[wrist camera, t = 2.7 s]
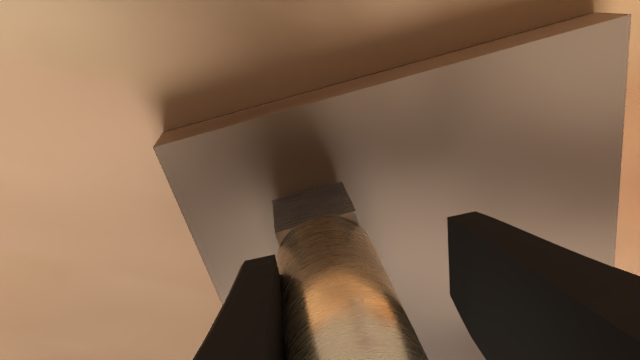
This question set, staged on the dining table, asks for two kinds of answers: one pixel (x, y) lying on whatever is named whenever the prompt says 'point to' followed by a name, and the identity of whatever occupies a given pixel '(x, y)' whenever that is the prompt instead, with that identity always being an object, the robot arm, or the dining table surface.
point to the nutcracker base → (425, 160)
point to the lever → (336, 284)
